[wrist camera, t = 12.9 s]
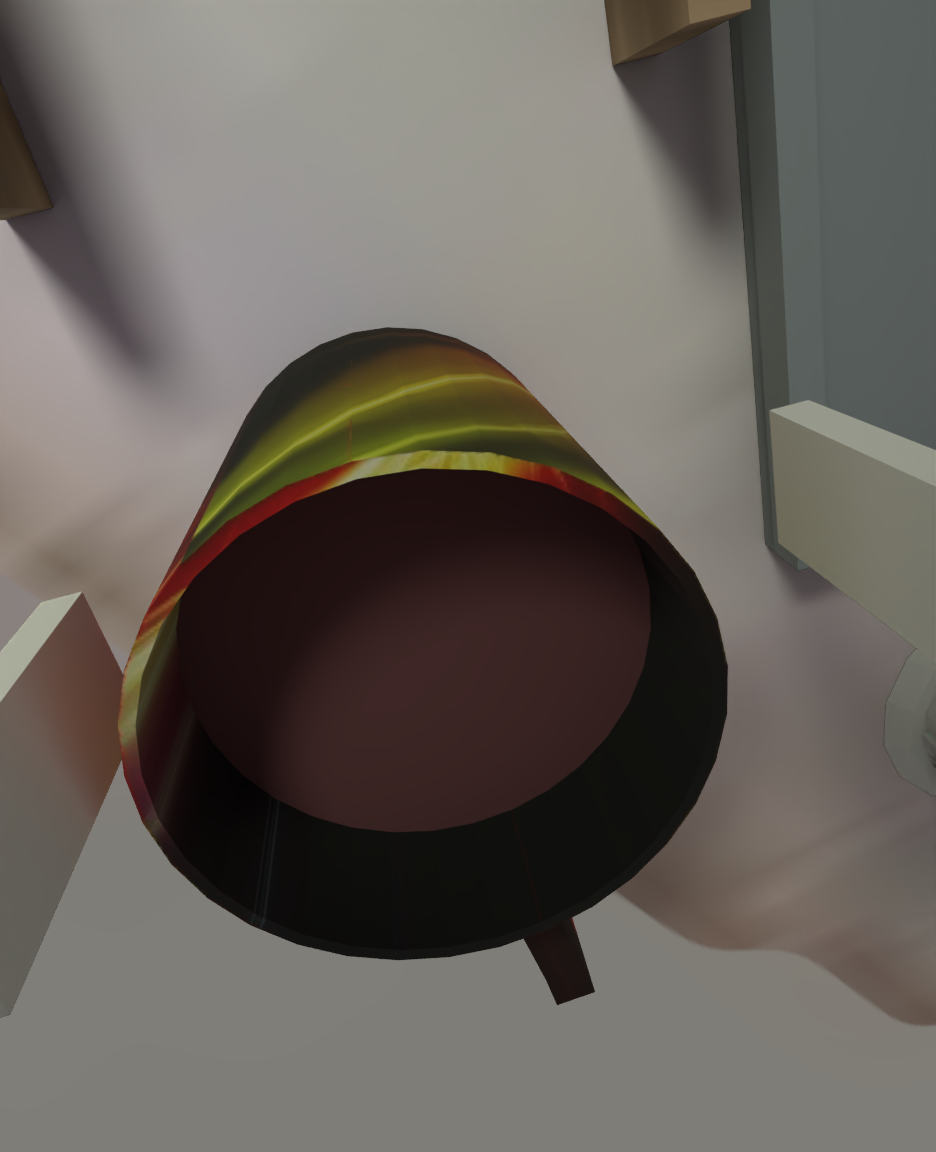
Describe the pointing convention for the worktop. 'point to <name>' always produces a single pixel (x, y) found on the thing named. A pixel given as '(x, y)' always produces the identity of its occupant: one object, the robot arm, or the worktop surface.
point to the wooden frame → (636, 30)
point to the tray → (839, 213)
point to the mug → (419, 668)
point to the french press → (913, 723)
